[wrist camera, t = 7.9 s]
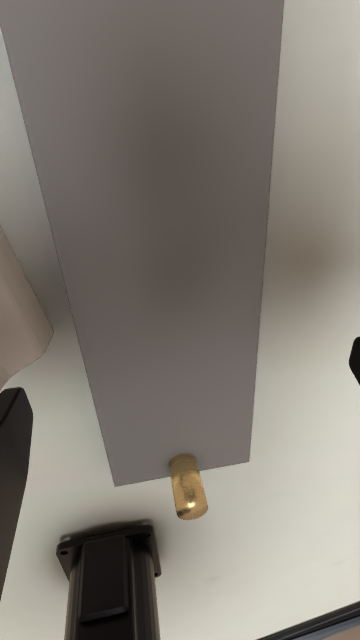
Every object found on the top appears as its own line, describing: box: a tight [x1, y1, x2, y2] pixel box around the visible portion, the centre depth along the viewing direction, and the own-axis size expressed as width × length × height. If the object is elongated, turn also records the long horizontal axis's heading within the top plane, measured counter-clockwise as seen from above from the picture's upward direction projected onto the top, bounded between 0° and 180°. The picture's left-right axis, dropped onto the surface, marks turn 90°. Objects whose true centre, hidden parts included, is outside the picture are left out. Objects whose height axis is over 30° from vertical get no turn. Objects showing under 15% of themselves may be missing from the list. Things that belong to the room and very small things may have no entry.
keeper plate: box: [0, 0, 284, 520], centre depth 13 cm, size 24×8×4 cm, turn 3°
